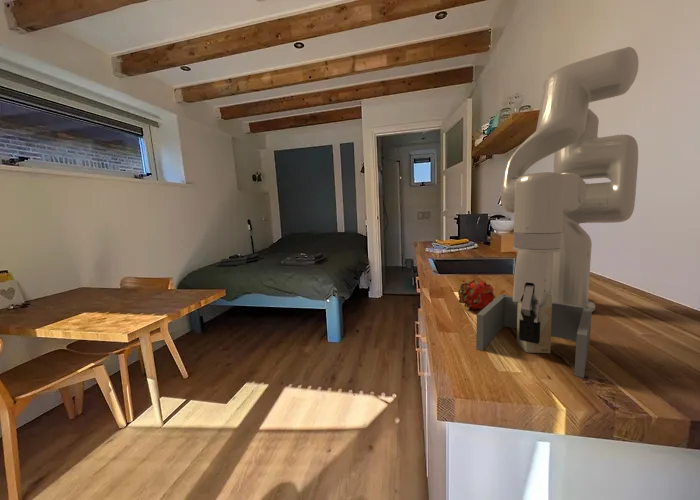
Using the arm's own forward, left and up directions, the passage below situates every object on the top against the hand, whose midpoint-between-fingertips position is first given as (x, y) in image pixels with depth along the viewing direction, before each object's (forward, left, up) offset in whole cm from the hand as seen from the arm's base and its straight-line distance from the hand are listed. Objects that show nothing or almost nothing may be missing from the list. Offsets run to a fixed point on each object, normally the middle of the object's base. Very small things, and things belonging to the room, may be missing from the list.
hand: (532, 334), depth 57 cm
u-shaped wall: (-1, 0, -3) cm, 3 cm away
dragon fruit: (-17, -16, -3) cm, 24 cm away
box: (0, 0, -3) cm, 3 cm away
